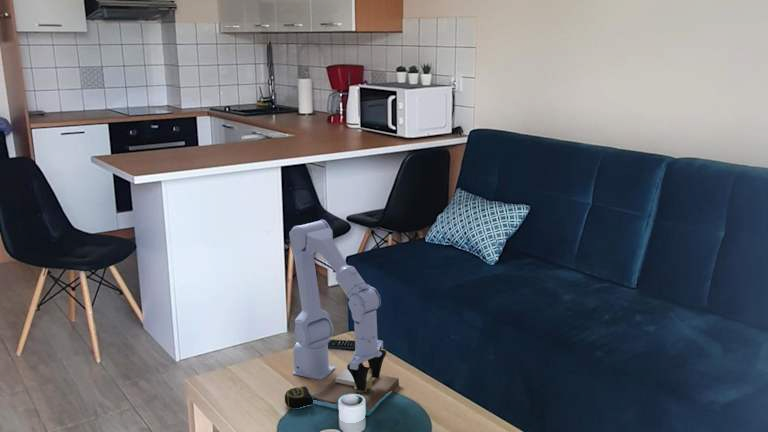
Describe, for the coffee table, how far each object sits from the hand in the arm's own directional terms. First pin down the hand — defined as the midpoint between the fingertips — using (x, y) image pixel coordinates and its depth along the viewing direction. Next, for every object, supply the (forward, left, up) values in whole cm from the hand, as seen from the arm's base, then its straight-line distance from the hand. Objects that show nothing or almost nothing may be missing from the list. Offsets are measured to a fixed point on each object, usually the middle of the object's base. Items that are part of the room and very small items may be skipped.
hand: (368, 383), depth 182 cm
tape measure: (-15, -9, -5) cm, 18 cm away
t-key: (-1, -1, -2) cm, 2 cm away
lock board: (-4, +1, -4) cm, 6 cm away
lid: (-6, +5, -2) cm, 8 cm away
